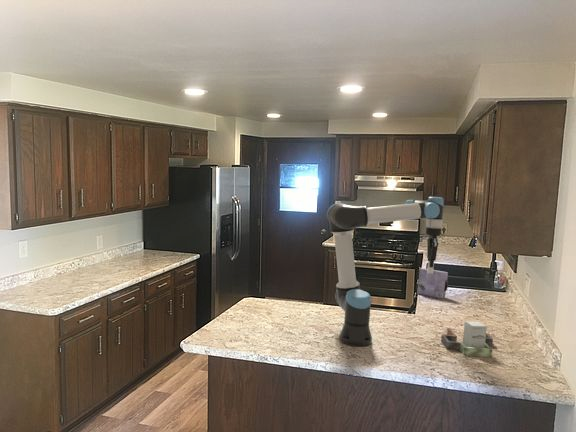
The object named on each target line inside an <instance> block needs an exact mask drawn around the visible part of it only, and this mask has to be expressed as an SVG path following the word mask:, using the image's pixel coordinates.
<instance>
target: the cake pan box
mask: <svg viewBox="0 0 576 432" xmlns="http://www.w3.org/2000/svg"><path fill="white" fill-rule="evenodd" d="M427 269H428V268H424V267H420V268H419V274H418V281H417V282H418V283H417V289H416V290H417V291H416V294H418V295H422V296H423V295H424V296H428V297H433V298H439V299H445V298H446V294H447V293H446V292H447V290H448V288H449V281H448V277H449V276H448V275H449V272H447V271H442V270H437V269H434V270H433V274H431V273H427Z"/></svg>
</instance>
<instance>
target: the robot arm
mask: <svg viewBox="0 0 576 432" xmlns="http://www.w3.org/2000/svg"><path fill="white" fill-rule="evenodd" d="M444 202H445V201H444V198H443V197H439V196H428V199H426V200H425V199H424V200H423V199H407V200H406V201H405V203H402V204H393V205H384V206H382V205H381V206H373V207H366V205H364V206H363V205H360V206H359V205H358V206H357V205H351V204H350V205H349V204H346V203H343V202H337V203H334V204H332V205H330V207H329V208H328V210H327V212H326V219H327V221H328V222H329V228H330V229H329V230H330V233H331V234H333V236H334V238H333V239H334V246H335V256H336V257H335V258H336V266H337V267H336V268H337V274H338V277H337V278H338V282H337V283H336V285H335V287H336V292H335V294H334V295H335V297H334V298H335V302H336V304H337V305H338V306H339V308H341V309H342V310H343V312H344V323H343V326H342V329H341V330H340V333H339V342H341V343H342V344H345V345H347V346H353V347H366V346H370V345H371V344H372V342H373V336H372V333H371V329H370V315H371V306H372V305H371V304H372V299H371V294H370V293H369V292H367V291H364V290H363V289H361V286H360V282H359V281H358V280H357V277H356V265H355V255H354V246H353V243H354V242H353V235H352V233H353V232H354V231H355V229H359V228H363V227H364V228H366V227H368V226H369V225H371V224H372V225H373V224H381V223H388V222H389V223H391V222H398V221H399V222H400V221H409V220H417V219H426V220H425V221H426V222H425V223H426V225H425V226H426V227H425V235H427V236H428V238H427V239H426V242H427V244H426V245H427V250H426V252H427V253H426V254H427V255H426V258H427V268H426V269H427V273H431V274H433V270H435V269H434V267H435V266H434V265H435V261H436V260H437V254H438V253H437V252H438V247H439V242H438V237H439V236H440V237H441V236H442V226H443V223H444V221H443V214H444V204H445V203H444Z"/></svg>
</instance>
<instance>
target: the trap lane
mask: <svg viewBox="0 0 576 432" xmlns="http://www.w3.org/2000/svg"><path fill="white" fill-rule="evenodd" d="M440 336H441V338H440V342H441V343H442V345H443V346H444V347H445V349H446V350H449V351H451V350H452V351H459V352H460V353H461V354H462V355H463V356H472V357H473V356H474V357H487V358H493V348H492V347H493V344H494V338H493V337H492V336H490V334H488V333H487V332H486V339H485V348H477V347H466V346H465V345H464V344H463V341H457V339H458V336H457V334H456V333H455V332H454V331H453V330H452V329H451V328H447V331H446V334H441V335H440Z"/></svg>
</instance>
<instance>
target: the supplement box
mask: <svg viewBox="0 0 576 432" xmlns="http://www.w3.org/2000/svg"><path fill="white" fill-rule="evenodd" d="M487 327H488V326H487V325H485V324H484V323H483V322H481V321H464V325H463V337H462V343H463V344H464V345H465V346H466V347H477V348H485V339H486V333H487Z"/></svg>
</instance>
